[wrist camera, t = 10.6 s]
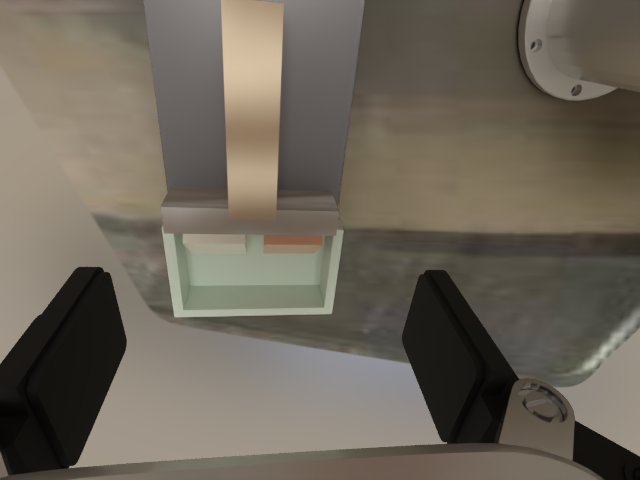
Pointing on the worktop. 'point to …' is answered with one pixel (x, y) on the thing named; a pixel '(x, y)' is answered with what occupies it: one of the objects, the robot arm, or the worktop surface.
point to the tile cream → (216, 243)
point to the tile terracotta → (292, 243)
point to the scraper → (250, 142)
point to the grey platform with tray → (293, 156)
